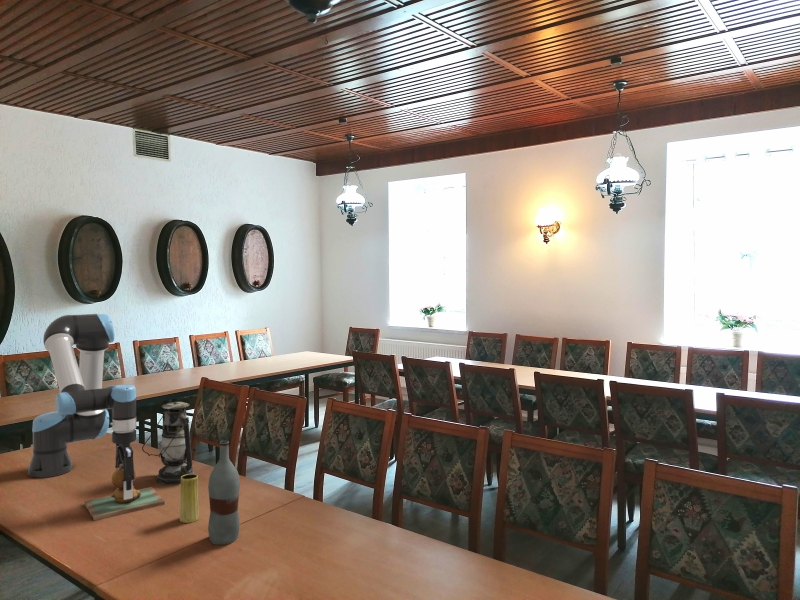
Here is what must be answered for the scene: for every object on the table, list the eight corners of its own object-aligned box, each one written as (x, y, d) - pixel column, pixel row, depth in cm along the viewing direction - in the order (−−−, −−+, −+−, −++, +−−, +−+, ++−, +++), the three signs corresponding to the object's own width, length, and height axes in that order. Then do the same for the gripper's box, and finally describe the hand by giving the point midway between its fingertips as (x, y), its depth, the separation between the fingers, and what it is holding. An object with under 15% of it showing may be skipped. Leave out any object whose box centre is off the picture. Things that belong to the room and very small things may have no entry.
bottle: (210, 548, 168) (210, 448, 167) (205, 535, 176) (205, 439, 175) (242, 541, 173) (243, 444, 171) (236, 529, 181) (236, 436, 179)
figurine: (146, 495, 203) (140, 458, 199) (134, 509, 196) (128, 471, 191) (120, 494, 204) (113, 457, 200) (107, 507, 197) (100, 469, 192)
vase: (203, 517, 189) (203, 475, 188) (189, 524, 184) (189, 481, 183) (189, 513, 192) (189, 472, 191) (175, 520, 186) (175, 477, 185)
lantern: (207, 477, 226) (206, 402, 224) (164, 492, 210) (164, 411, 208) (176, 467, 236) (176, 396, 234) (134, 481, 220) (133, 404, 218)
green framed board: (84, 504, 198) (84, 500, 198) (151, 490, 212) (151, 486, 212) (94, 520, 185) (94, 516, 185) (164, 504, 199) (164, 500, 199)
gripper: (105, 425, 203) (106, 487, 205) (119, 439, 186) (120, 507, 188) (128, 421, 208) (128, 482, 209) (144, 435, 191) (144, 501, 192)
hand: (124, 494), depth 198 cm, fingers closed on figurine, 9 cm apart
